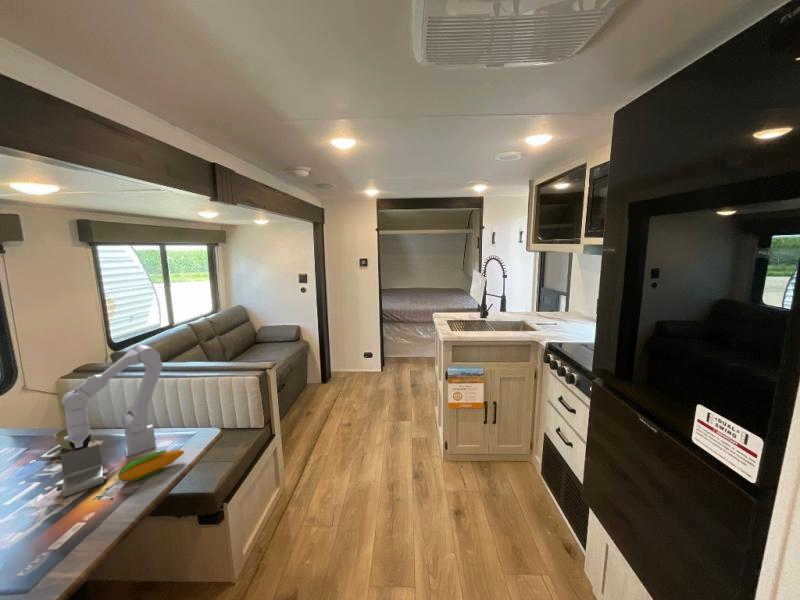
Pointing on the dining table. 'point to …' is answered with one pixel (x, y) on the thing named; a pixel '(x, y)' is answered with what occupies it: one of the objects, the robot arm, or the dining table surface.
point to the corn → (148, 465)
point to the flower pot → (60, 439)
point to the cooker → (82, 481)
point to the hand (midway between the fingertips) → (83, 456)
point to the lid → (81, 460)
